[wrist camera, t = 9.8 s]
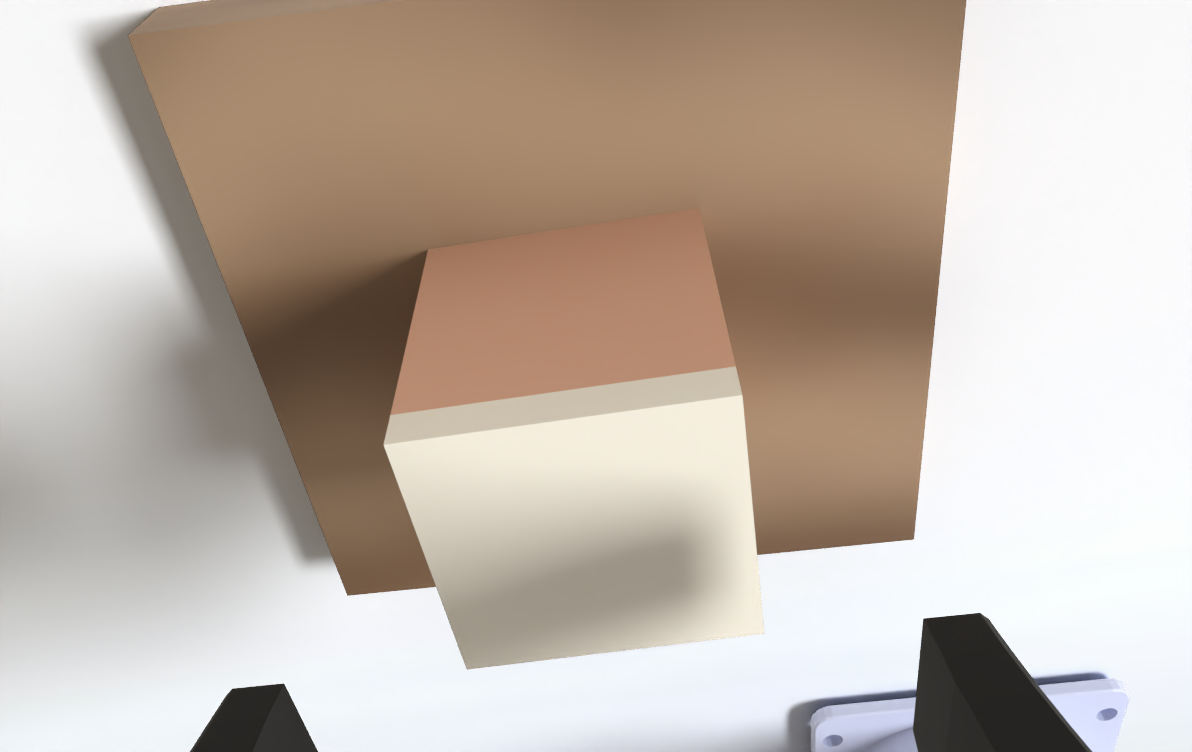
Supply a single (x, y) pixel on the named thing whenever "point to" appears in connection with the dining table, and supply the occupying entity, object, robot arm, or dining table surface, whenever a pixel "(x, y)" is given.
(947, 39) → the walnut block
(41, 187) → the dining table surface
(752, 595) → the lidded terracotta box
